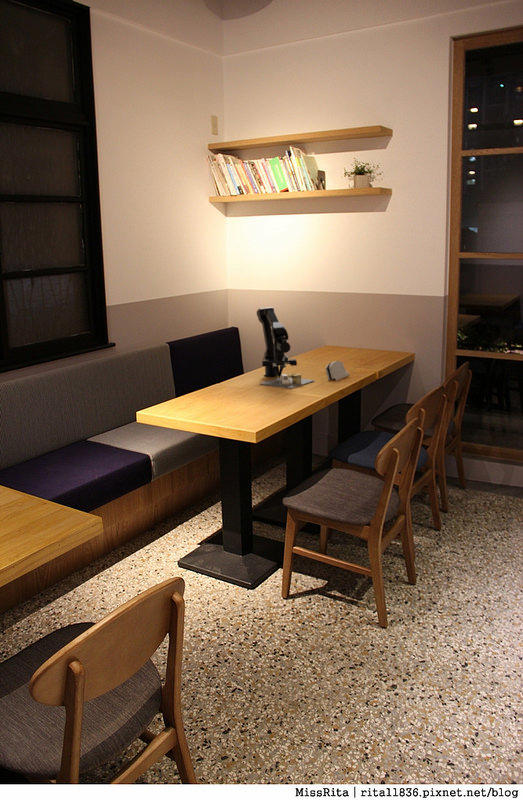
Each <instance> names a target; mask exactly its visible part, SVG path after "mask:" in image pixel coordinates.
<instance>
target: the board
mask: <svg viewBox="0 0 523 800" xmlns="http://www.w3.org/2000/svg"><path fill="white" fill-rule="evenodd" d="M288 379H290V384H289V385H282V380H281V376H280V378H279V377H277V378H274V379H273V378H272V379H271V380H267V381H263V382H260V383H259V385H260V386H267V387H276V388H281V389H288V388H289V389H288V390H293V389H296V388H298V386H299V387H301V386H304V385H307V384H310V383H313V382H314V383H315V380H314V379H306V378H301V383H300V384H292V378H288ZM295 387H296V388H295Z"/></svg>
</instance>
